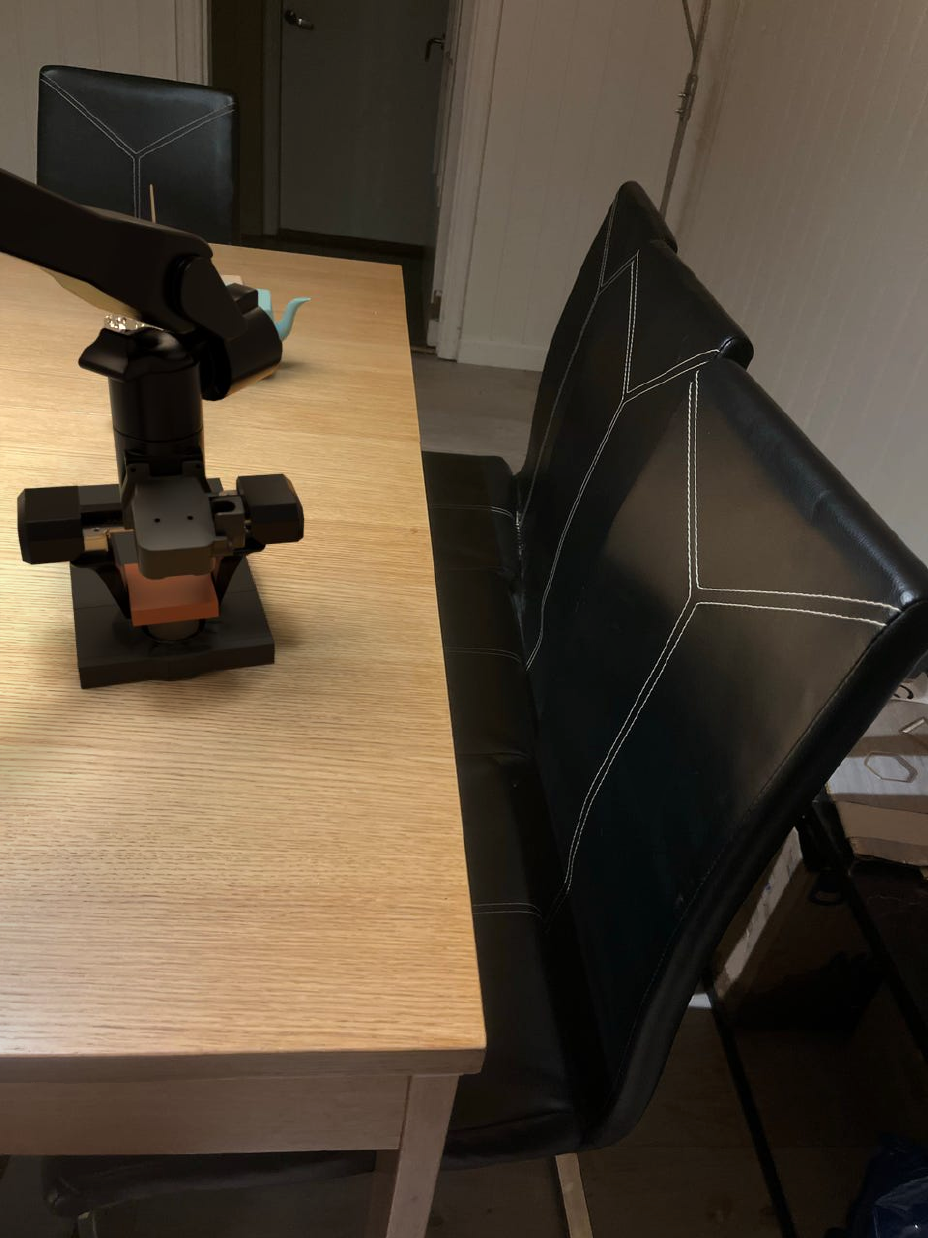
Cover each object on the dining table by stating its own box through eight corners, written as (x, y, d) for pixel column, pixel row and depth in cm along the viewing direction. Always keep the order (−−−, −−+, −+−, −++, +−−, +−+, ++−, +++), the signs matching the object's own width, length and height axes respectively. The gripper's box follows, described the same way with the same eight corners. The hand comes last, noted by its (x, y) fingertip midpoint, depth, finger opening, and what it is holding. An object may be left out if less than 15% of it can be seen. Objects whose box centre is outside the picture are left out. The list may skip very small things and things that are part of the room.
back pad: (276, 666, 70) (276, 646, 69) (81, 693, 65) (78, 672, 64) (220, 495, 89) (219, 477, 88) (66, 505, 84) (63, 486, 83)
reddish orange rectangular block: (136, 654, 67) (131, 611, 64) (128, 606, 71) (124, 563, 69) (219, 644, 69) (218, 601, 66) (207, 598, 73) (205, 556, 71)
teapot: (156, 382, 108) (150, 296, 101) (165, 337, 118) (160, 258, 112) (310, 390, 112) (313, 308, 106) (305, 346, 122) (308, 270, 116)
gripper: (0, 493, 51) (40, 699, 60) (327, 473, 57) (318, 662, 67) (2, 406, 59) (37, 601, 68) (289, 398, 65) (285, 576, 75)
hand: (172, 611), depth 69 cm, fingers closed on reddish orange rectangular block, 6 cm apart
